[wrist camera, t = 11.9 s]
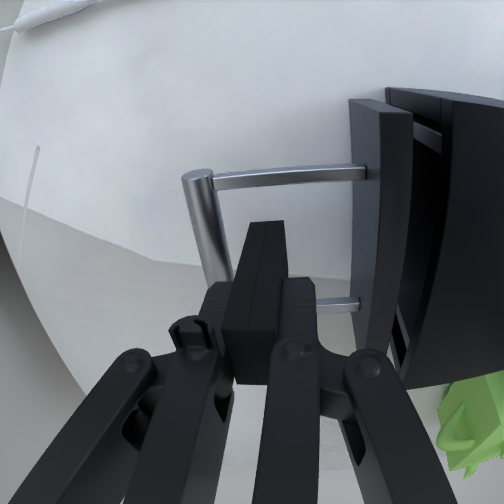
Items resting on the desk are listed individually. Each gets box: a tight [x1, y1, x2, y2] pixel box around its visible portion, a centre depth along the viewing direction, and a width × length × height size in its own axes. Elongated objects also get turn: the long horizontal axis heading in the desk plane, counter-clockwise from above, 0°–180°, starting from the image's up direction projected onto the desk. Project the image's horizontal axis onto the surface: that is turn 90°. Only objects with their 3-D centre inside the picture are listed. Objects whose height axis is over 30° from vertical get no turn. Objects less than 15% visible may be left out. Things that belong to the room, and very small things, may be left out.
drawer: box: [181, 99, 442, 354], centre depth 13 cm, size 22×13×6 cm, turn 98°
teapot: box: [436, 370, 504, 479], centre depth 19 cm, size 15×13×11 cm
